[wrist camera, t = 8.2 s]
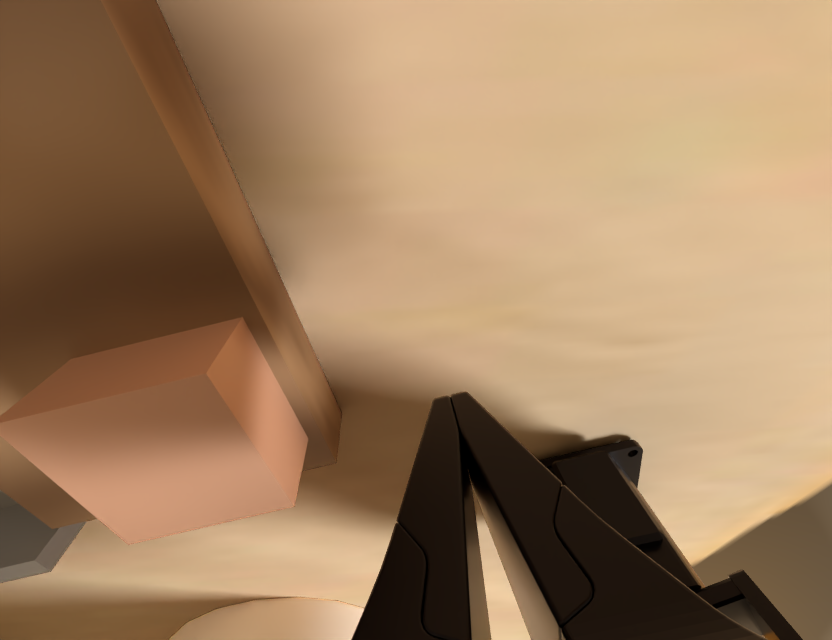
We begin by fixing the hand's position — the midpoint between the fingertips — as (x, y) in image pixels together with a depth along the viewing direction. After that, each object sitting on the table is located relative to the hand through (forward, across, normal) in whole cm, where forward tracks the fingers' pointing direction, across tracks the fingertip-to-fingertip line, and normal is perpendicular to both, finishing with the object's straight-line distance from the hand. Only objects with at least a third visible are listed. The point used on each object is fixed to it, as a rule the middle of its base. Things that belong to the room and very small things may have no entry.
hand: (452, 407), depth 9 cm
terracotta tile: (+2, +8, 0) cm, 8 cm away
